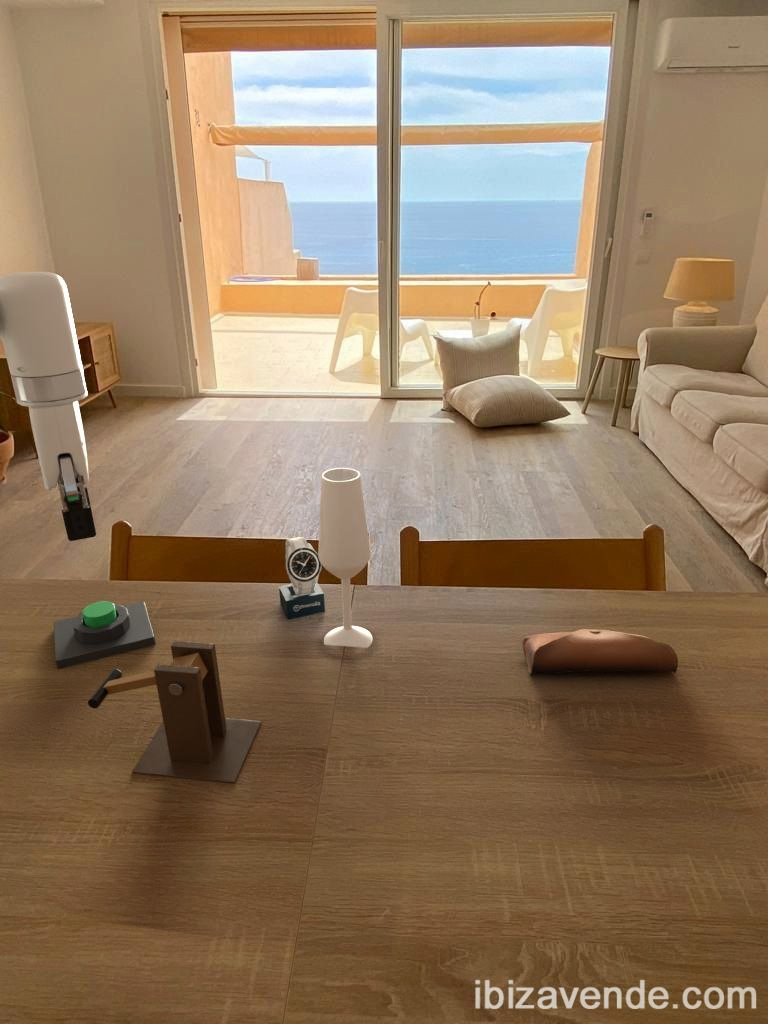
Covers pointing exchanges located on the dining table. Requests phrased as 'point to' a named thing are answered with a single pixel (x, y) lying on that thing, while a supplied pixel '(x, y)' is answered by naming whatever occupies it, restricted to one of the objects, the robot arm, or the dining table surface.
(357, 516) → the champagne flute
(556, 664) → the sunglasses case
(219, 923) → the dining table surface
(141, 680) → the lever
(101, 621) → the light button
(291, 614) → the watch
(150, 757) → the switch bracket
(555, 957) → the dining table surface
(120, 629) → the button box
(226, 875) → the dining table surface
